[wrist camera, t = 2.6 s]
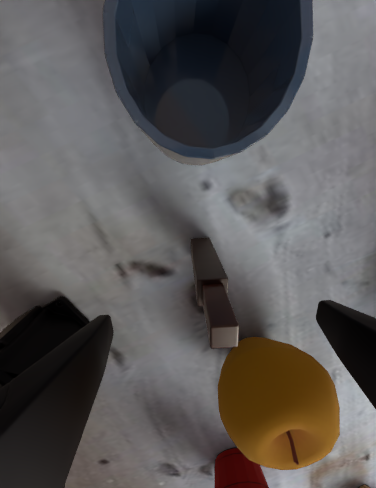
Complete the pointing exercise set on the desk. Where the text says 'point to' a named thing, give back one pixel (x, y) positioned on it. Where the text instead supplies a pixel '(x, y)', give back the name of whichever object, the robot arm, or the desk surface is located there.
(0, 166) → the desk surface
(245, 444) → the apple
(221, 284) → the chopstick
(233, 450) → the plastic cup
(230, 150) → the cup
